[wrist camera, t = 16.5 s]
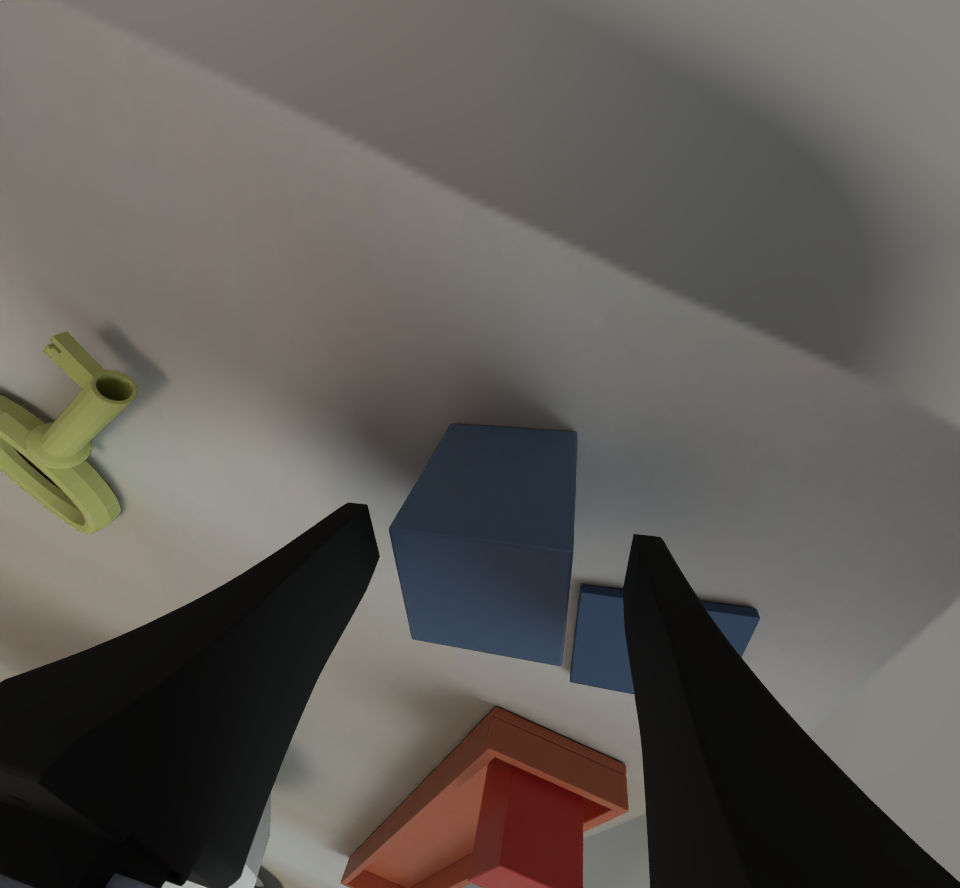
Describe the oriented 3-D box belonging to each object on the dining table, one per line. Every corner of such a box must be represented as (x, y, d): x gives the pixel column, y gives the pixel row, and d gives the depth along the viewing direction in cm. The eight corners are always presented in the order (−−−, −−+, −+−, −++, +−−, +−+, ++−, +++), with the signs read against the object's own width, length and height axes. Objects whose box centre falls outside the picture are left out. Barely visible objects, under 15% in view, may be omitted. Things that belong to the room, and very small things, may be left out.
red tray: (495, 705, 22) (488, 748, 20) (626, 764, 22) (629, 811, 20) (349, 857, 44) (340, 883, 43) (413, 885, 44) (406, 912, 43)
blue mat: (756, 608, 14) (760, 618, 14) (714, 700, 17) (716, 710, 17) (580, 583, 16) (580, 592, 15) (570, 673, 19) (569, 682, 18)
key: (175, 370, 14) (117, 394, 13) (117, 532, 21) (73, 564, 19) (-25, 218, 13) (-122, 222, 11) (-21, 442, 20) (-82, 467, 18)
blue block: (577, 431, 12) (573, 551, 8) (569, 530, 14) (561, 667, 10) (450, 422, 13) (387, 528, 9) (459, 517, 15) (411, 640, 11)
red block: (515, 737, 22) (499, 866, 18) (583, 767, 22) (583, 903, 18) (488, 761, 24) (467, 881, 20) (549, 789, 24) (542, 914, 20)
